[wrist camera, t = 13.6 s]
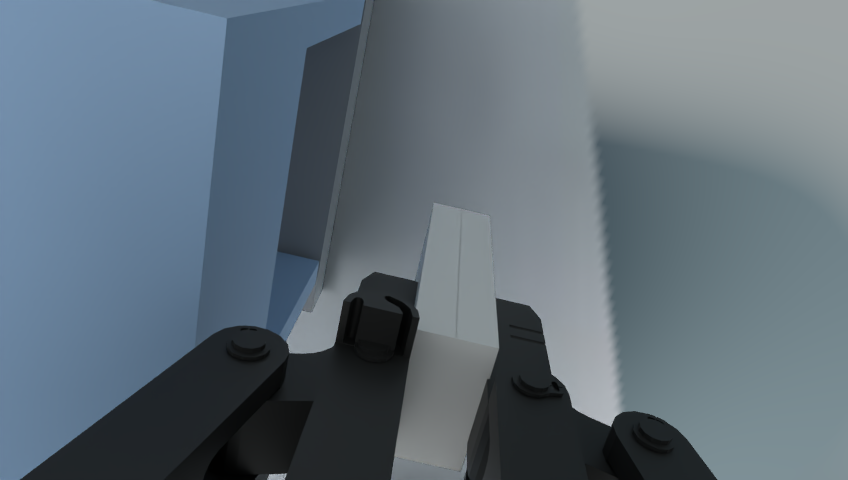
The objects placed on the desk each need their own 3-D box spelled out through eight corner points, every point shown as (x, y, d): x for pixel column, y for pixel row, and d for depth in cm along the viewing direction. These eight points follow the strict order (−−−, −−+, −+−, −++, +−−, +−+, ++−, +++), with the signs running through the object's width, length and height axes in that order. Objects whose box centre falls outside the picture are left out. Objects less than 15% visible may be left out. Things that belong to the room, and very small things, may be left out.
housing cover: (91, 231, 26) (-255, 464, 14) (98, -71, 22) (-393, -130, 9) (315, 283, 26) (173, 560, 14) (366, -7, 22) (227, 18, 9)
